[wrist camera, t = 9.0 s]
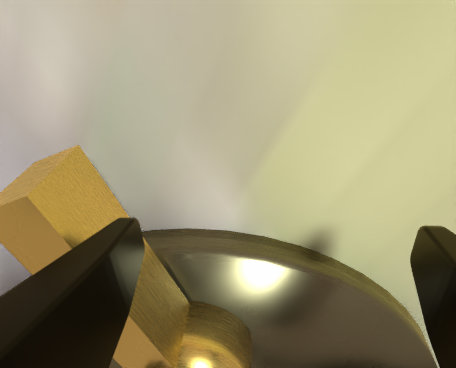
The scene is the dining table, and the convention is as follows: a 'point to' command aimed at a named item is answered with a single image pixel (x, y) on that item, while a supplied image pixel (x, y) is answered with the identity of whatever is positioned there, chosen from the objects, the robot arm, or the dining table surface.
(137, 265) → the robot arm
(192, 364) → the knob
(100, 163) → the dining table surface
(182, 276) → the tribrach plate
